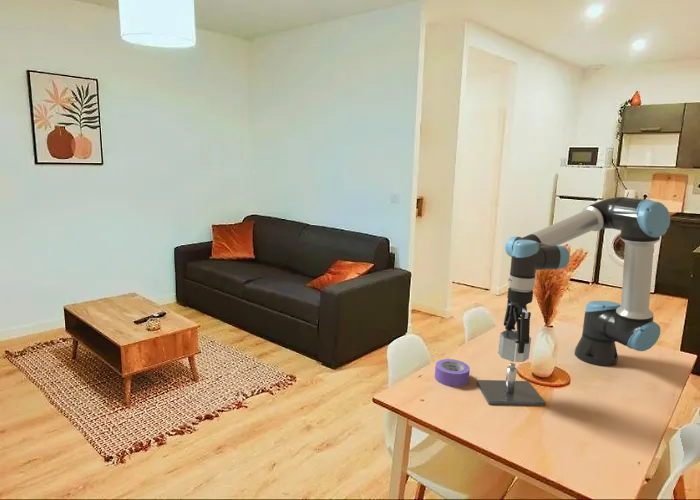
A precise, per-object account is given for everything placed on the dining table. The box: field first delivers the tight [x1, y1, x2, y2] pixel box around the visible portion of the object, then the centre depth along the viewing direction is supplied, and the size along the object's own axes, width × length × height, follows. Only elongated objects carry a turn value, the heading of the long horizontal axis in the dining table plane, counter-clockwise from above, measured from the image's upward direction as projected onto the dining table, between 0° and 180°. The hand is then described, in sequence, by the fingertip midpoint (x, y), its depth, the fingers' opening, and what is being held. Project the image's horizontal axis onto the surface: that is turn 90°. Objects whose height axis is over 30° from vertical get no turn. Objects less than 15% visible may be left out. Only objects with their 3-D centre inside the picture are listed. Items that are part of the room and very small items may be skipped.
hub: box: [497, 329, 532, 363], centre depth 153 cm, size 9×9×7 cm
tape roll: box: [434, 358, 471, 388], centre depth 165 cm, size 12×12×5 cm
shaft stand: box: [476, 362, 546, 407], centre depth 155 cm, size 18×14×11 cm
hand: (513, 355), depth 153 cm, fingers closed on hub, 9 cm apart
